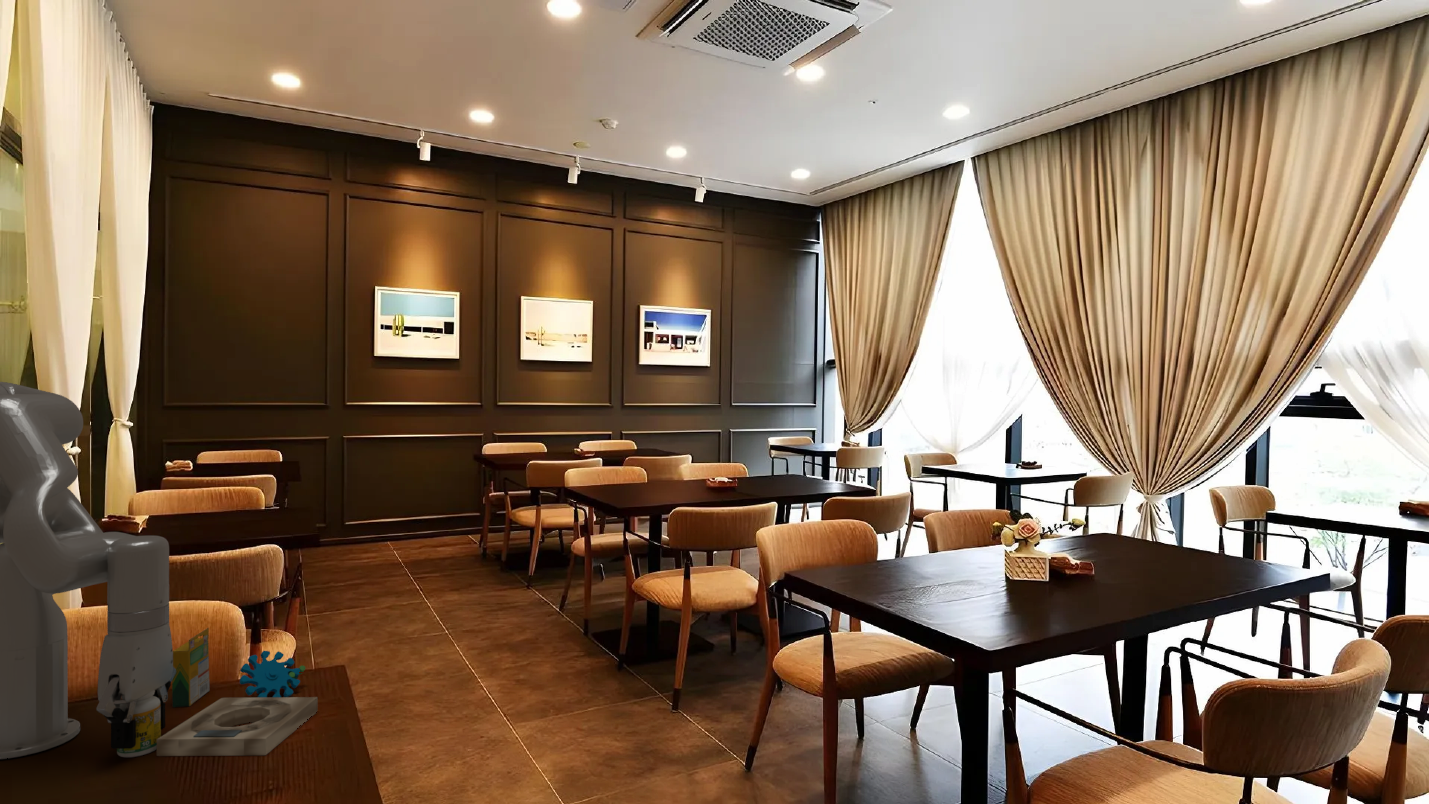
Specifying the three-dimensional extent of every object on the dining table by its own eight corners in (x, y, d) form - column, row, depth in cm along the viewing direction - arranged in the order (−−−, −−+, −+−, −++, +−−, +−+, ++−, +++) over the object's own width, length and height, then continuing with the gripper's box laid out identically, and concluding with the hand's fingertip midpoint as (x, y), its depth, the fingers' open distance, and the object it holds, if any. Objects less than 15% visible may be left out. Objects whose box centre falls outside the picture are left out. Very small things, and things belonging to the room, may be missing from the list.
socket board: (156, 756, 115) (156, 738, 115) (222, 712, 131) (222, 696, 131) (265, 755, 116) (265, 737, 116) (317, 711, 132) (317, 695, 132)
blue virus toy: (248, 702, 131) (237, 651, 136) (234, 721, 134) (223, 670, 139) (313, 692, 140) (301, 644, 145) (299, 710, 142) (287, 662, 147)
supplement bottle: (166, 740, 121) (166, 679, 120) (151, 756, 115) (151, 692, 115) (126, 744, 119) (126, 682, 119) (109, 760, 114) (109, 695, 114)
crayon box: (192, 691, 140) (192, 628, 140) (210, 690, 141) (210, 627, 141) (170, 707, 133) (170, 640, 133) (189, 706, 134) (189, 639, 134)
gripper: (153, 603, 126) (153, 715, 126) (67, 636, 108) (67, 765, 109) (200, 603, 126) (200, 714, 126) (122, 636, 109) (122, 765, 109)
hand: (138, 737), depth 117 cm, fingers open, 5 cm apart
